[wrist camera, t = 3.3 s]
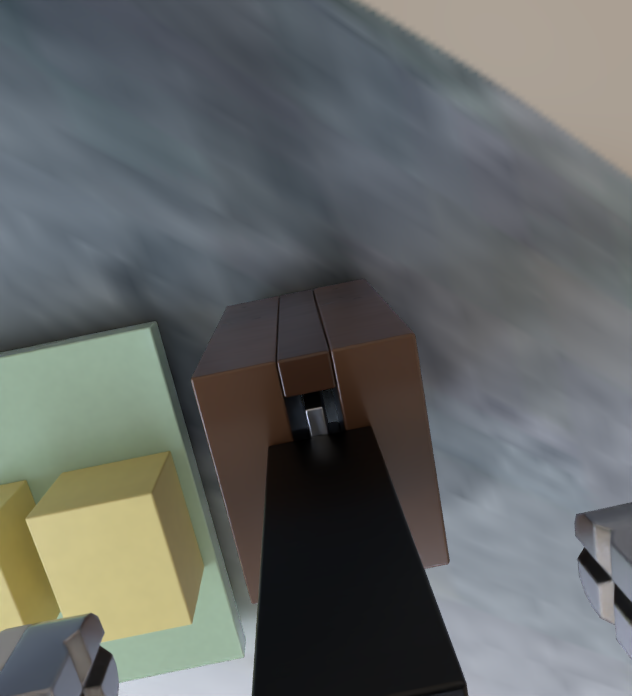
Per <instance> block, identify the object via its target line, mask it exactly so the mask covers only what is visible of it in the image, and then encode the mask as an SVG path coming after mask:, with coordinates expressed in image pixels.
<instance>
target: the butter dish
mask: <svg viewBox="0 0 632 696" xmlns="http://www.w3.org/2000/svg"><path fill="white" fill-rule="evenodd" d="M167 451H170V452H171V454H172V458H173V461H174V465H175V468H176V472H177V475H178V478H179V482H180V485H181V489H182V492H183V495H184V499H185V502H186V506H187V509H188V512H189V516H190V519H191V523H192V526H193V529H194V533H195V536H196V540H197V543H198V546H199V550H200V553H201V557H202V560H203V564H204V571H203V576H202V581H201V585H200V590H199V595H198V599H197V604H196V609H195V614H194V618H193V623H192V624H191V625H186V626H181V627H176V628H171V629H166V630H161V631H157V632H152V633H147V634H142V635H137V636H132V637H127V638H122V639H117V640H112V641H107V642H102V643H100V646H102V647H103V648H105V649H106V650H107V651H109V652H110V653H112V654H113V657H114V660H115V662H116V665H117V671H118V677H119V683H121V682H126V681H131V680H136V679H141V678H146V677H151V676H156V675H161V674H166V673H170V672H175V671H180V670H185V669H190V668H195V667H200V666H205V665H210V664H215V663H220V662H225V661H230V660H235V659H239V658H243V657H244V655H245V644H246V638H245V634H244V631H243V627H242V624H241V620H240V617H239V613H238V609H237V606H236V602H235V599H234V595H233V592H232V588H231V585H230V581H229V577H228V574H227V570H226V567H225V563H224V560H223V556H222V553H221V549H220V545H219V542H218V538H217V535H216V531H215V528H214V524H213V521H212V517H211V513H210V510H209V506H208V503H207V499H206V496H205V492H204V489H203V485H202V481H201V478H200V474H199V471H198V467H197V464H196V460H195V457H194V453H193V449H192V446H191V442H190V439H189V435H188V432H187V428H186V425H185V421H184V417H183V414H182V410H181V407H180V403H179V400H178V396H177V393H176V389H175V386H174V382H173V378H172V375H171V371H170V368H169V364H168V361H167V357H166V354H165V350H164V346H163V343H162V339H161V336H160V332H159V329H158V325H157V322H156V321H153V322H148V323H143V324H138V325H133V326H128V327H124V328H119V329H114V330H109V331H104V332H99V333H94V334H89V335H84V336H79V337H74V338H70V339H65V340H60V341H55V342H50V343H45V344H40V345H35V346H30V347H25V348H20V349H16V350H11V351H6V352H1V353H0V485H3V484H8V483H13V482H18V481H23V480H26V481H27V483H28V486H29V488H30V491H31V494H32V496H33V499H34V501H35V504H36V505H37V503H38V502H39V501H40V500H41V498H42V497H43V496H44V495H45V493H46V492H47V491H48V489H49V488H50V487H51V486H52V484H53V483H54V482H55V481H56V479H57V478H58V477H59V476H60V474H61V473H63V472H68V471H73V470H78V469H83V468H88V467H93V466H98V465H103V464H108V463H112V462H117V461H122V460H127V459H132V458H137V457H142V456H147V455H152V454H157V453H162V452H167ZM60 618H63V616H62V613H61V612H60V613H59V615H58V617H57V619H60Z"/></svg>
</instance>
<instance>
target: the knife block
mask: <svg viewBox="0 0 632 696" xmlns="http://www.w3.org/2000/svg"><path fill="white" fill-rule="evenodd" d="M191 383H192V387H193V391H194V394H195V398H196V402H197V405H198V409H199V413H200V416H201V420H202V424H203V427H204V431H205V435H206V438H207V442H208V446H209V449H210V453H211V457H212V460H213V464H214V468H215V471H216V475H217V479H218V482H219V486H220V490H221V493H222V497H223V501H224V504H225V508H226V512H227V515H228V519H229V523H230V526H231V530H232V534H233V537H234V541H235V545H236V549H237V552H238V556H239V560H240V563H241V567H242V571H243V574H244V578H245V582H246V585H247V589H248V593H249V596H250V600H251V603H252V604H256V603H258V593H259V578H260V562H261V547H262V532H263V516H264V501H265V485H266V470H267V455H268V447H269V446H272V445H277V444H282V443H287V442H292V441H297V440H302V439H307V438H311V435H310V431H309V428H308V427H307V422H306V418H305V413H304V409H303V404H302V399H301V395H302V394H307V393H312V392H317V391H322V390H326V389H331V388H332V389H333V394H334V399H335V404H336V409H337V414H338V419H339V422H332V423H328V424H329V430H330V434H331V433H336V432H341V431H346V430H351V429H356V428H361V427H366V426H371V427H372V428H373V431H374V434H375V437H376V439H377V442H378V445H379V447H380V450H381V453H382V456H383V458H384V461H385V464H386V466H387V469H388V472H389V475H390V477H391V480H392V483H393V485H394V488H395V491H396V494H397V496H398V499H399V502H400V504H401V507H402V510H403V513H404V515H405V518H406V521H407V523H408V526H409V529H410V531H411V534H412V537H413V540H414V542H415V545H416V548H417V550H418V553H419V556H420V559H421V561H422V564H423V567H424V569H426V568H431V567H436V566H441V565H446V564H448V563H449V561H450V559H449V553H448V546H447V539H446V533H445V526H444V520H443V513H442V507H441V500H440V493H439V487H438V480H437V474H436V467H435V461H434V454H433V448H432V441H431V434H430V428H429V421H428V415H427V408H426V402H425V395H424V388H423V382H422V375H421V369H420V362H419V356H418V349H417V343H416V336H415V334H414V333H413V331H412V330H411V329H410V328H409V327H408V326H407V325H406V324H405V323H404V322H403V320H402V319H401V318H400V317H399V316H398V315H397V314H396V313H395V312H394V311H393V309H392V308H391V307H390V306H389V305H388V304H387V303H386V302H385V301H384V299H383V298H382V297H381V296H380V295H379V294H378V293H377V292H376V291H375V290H374V288H373V287H372V286H371V285H370V284H369V283H368V282H367V281H366V280H365V279H360V280H355V281H350V282H345V283H340V284H335V285H330V286H325V287H320V288H315V289H314V290H313V291H312V290H305V291H301V292H296V293H291V294H286V295H281V296H280V298H279V296H276V297H271V298H266V299H261V300H256V301H251V302H246V303H241V304H236V305H231V306H227V307H226V309H225V311H224V313H223V315H222V317H221V319H220V321H219V323H218V325H217V327H216V329H215V331H214V333H213V335H212V337H211V339H210V341H209V343H208V345H207V347H206V349H205V351H204V353H203V355H202V357H201V359H200V361H199V363H198V365H197V367H196V369H195V371H194V373H193V375H192V377H191Z"/></svg>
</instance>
